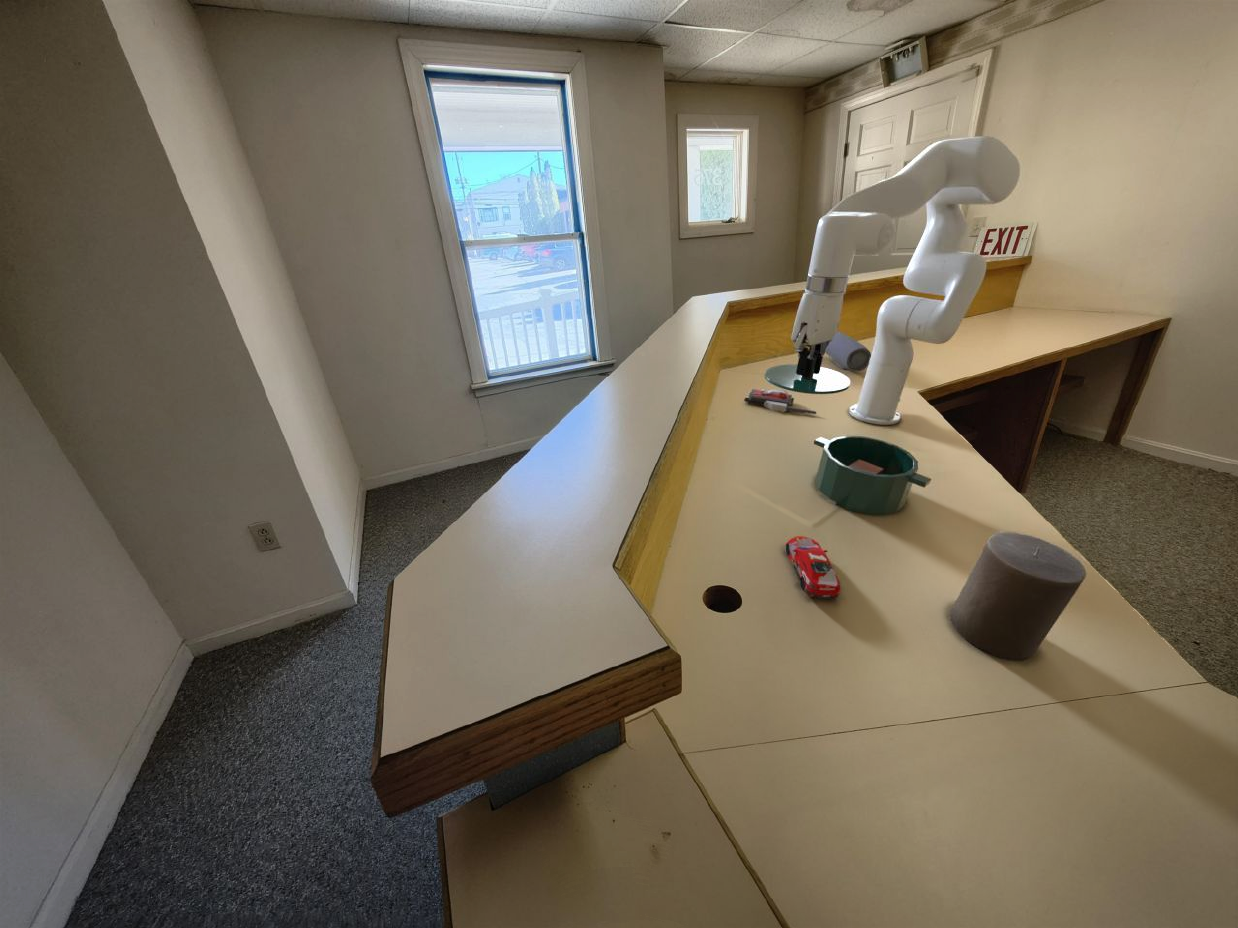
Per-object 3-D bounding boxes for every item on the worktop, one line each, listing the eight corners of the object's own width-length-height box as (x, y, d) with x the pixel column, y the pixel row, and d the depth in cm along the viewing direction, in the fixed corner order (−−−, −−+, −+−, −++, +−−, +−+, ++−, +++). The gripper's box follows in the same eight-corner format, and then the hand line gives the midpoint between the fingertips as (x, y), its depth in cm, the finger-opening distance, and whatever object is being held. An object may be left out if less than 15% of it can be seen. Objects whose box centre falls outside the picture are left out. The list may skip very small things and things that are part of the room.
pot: (829, 457, 105) (838, 424, 101) (932, 500, 90) (948, 463, 86) (788, 481, 96) (795, 446, 92) (895, 533, 81) (910, 493, 77)
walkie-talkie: (741, 406, 132) (814, 419, 124) (743, 392, 129) (818, 404, 122) (748, 396, 138) (817, 407, 131) (750, 382, 136) (821, 393, 129)
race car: (781, 544, 79) (785, 526, 77) (813, 545, 79) (818, 527, 77) (804, 601, 68) (810, 582, 66) (841, 603, 67) (848, 583, 65)
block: (853, 479, 96) (859, 459, 94) (876, 489, 93) (884, 468, 90) (840, 487, 94) (847, 466, 91) (864, 498, 90) (871, 477, 88)
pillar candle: (1006, 671, 57) (1064, 585, 50) (933, 616, 65) (974, 534, 58) (1051, 645, 61) (1112, 561, 53) (977, 595, 69) (1020, 515, 61)
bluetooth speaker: (868, 375, 155) (877, 346, 150) (841, 375, 155) (848, 346, 150) (841, 355, 174) (847, 329, 169) (816, 355, 174) (822, 329, 169)
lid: (794, 364, 111) (798, 341, 108) (865, 384, 99) (872, 358, 96) (747, 379, 102) (751, 354, 99) (819, 403, 89) (826, 376, 87)
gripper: (831, 279, 97) (812, 362, 106) (785, 287, 88) (770, 377, 98) (865, 283, 92) (843, 371, 101) (820, 292, 83) (800, 387, 92)
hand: (807, 373), depth 99 cm, fingers closed on lid, 2 cm apart
